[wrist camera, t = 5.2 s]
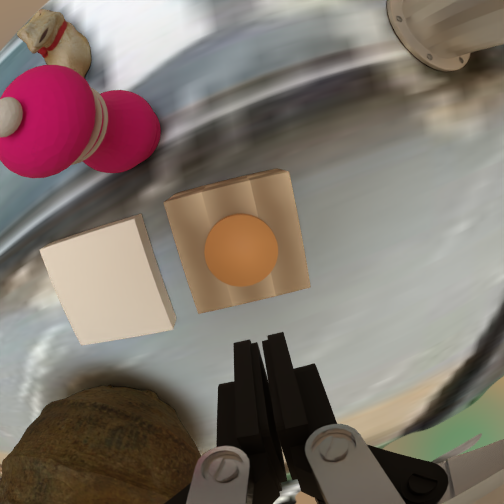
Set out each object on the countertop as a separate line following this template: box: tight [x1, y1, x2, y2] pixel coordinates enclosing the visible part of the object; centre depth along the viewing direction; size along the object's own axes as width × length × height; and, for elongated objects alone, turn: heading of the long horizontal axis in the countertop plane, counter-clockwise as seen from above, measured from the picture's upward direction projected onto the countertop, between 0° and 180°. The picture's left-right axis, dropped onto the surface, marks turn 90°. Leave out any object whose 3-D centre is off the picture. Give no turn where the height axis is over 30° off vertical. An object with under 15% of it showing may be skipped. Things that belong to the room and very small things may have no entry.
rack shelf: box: [40, 214, 176, 345], centre depth 30 cm, size 12×12×2 cm
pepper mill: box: [0, 65, 161, 178], centre depth 17 cm, size 7×7×20 cm
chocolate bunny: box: [17, 9, 91, 78], centre depth 18 cm, size 6×8×10 cm
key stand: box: [164, 169, 310, 314], centre depth 28 cm, size 10×10×6 cm
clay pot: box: [0, 385, 201, 504], centre depth 26 cm, size 25×25×25 cm
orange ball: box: [204, 214, 278, 287], centre depth 27 cm, size 6×6×7 cm
